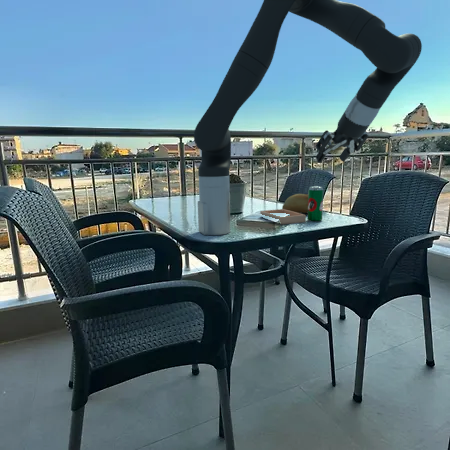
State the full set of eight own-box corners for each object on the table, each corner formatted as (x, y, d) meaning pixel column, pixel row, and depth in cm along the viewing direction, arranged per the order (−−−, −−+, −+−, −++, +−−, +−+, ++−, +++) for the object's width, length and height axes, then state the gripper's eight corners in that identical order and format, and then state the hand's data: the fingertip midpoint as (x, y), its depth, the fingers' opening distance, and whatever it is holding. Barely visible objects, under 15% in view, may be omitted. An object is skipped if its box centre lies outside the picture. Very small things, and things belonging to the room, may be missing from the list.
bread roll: (322, 215, 123) (323, 195, 122) (282, 215, 125) (283, 195, 124) (318, 211, 133) (319, 192, 131) (281, 211, 135) (282, 192, 133)
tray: (280, 224, 108) (280, 217, 108) (260, 217, 122) (260, 210, 122) (305, 222, 112) (305, 215, 111) (283, 215, 126) (283, 209, 125)
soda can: (322, 222, 111) (324, 187, 109) (307, 221, 112) (308, 187, 110) (321, 219, 116) (322, 186, 114) (307, 219, 117) (308, 186, 115)
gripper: (372, 106, 89) (343, 150, 102) (330, 106, 84) (304, 152, 97) (387, 124, 85) (354, 168, 98) (343, 124, 81) (315, 170, 93)
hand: (329, 160), depth 98 cm, fingers open, 8 cm apart
